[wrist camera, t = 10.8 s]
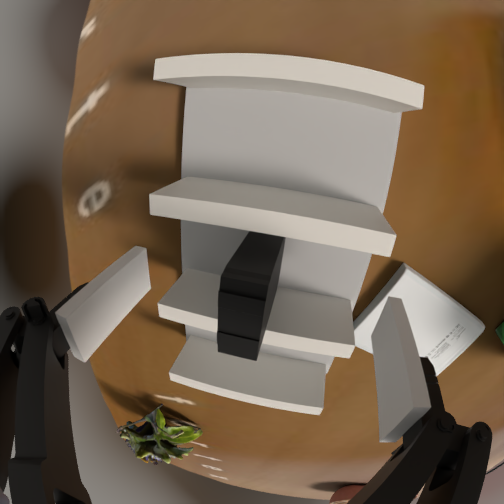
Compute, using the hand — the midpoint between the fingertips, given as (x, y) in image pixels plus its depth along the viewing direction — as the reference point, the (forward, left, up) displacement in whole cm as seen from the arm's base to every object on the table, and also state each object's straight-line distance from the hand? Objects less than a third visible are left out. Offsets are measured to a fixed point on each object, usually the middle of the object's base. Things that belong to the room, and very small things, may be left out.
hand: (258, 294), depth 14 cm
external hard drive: (-14, +6, -8) cm, 17 cm away
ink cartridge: (+1, +1, -6) cm, 6 cm away
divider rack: (0, 0, -7) cm, 7 cm away
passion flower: (+13, +33, -7) cm, 36 cm away
